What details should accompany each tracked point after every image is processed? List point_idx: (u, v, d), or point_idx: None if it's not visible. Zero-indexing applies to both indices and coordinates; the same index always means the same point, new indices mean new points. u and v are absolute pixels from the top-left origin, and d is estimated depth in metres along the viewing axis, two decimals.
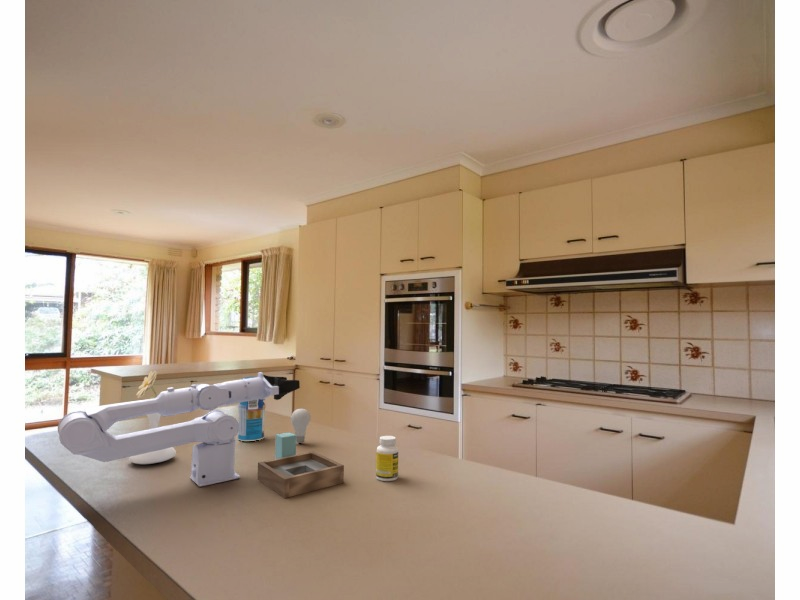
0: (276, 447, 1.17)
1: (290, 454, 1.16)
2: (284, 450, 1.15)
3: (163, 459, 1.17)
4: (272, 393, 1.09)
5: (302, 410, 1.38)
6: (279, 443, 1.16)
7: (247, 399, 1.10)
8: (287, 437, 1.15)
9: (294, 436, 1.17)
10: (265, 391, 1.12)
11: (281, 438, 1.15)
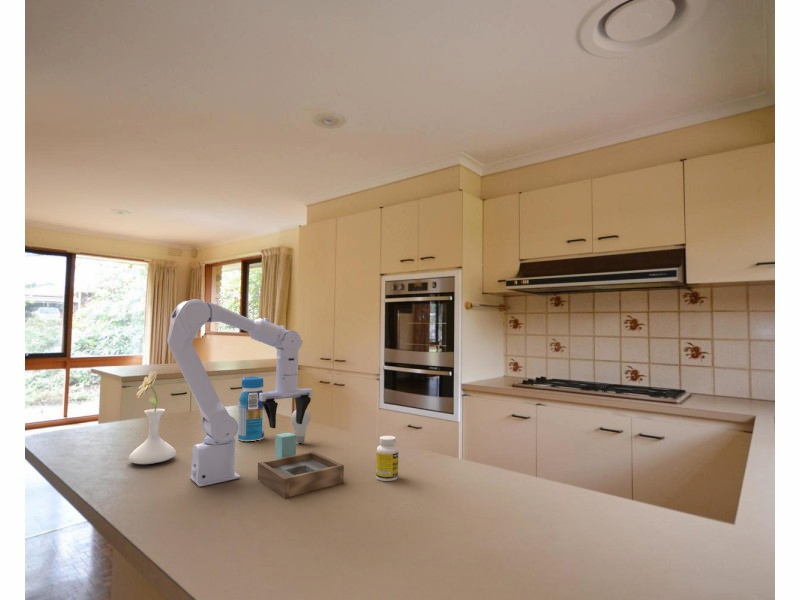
0: (276, 447, 1.17)
1: (290, 454, 1.16)
2: (284, 450, 1.15)
3: (163, 459, 1.17)
4: (259, 394, 1.14)
5: None
6: (279, 443, 1.16)
7: None
8: (287, 437, 1.15)
9: (294, 436, 1.17)
10: (275, 392, 1.17)
11: (281, 438, 1.15)
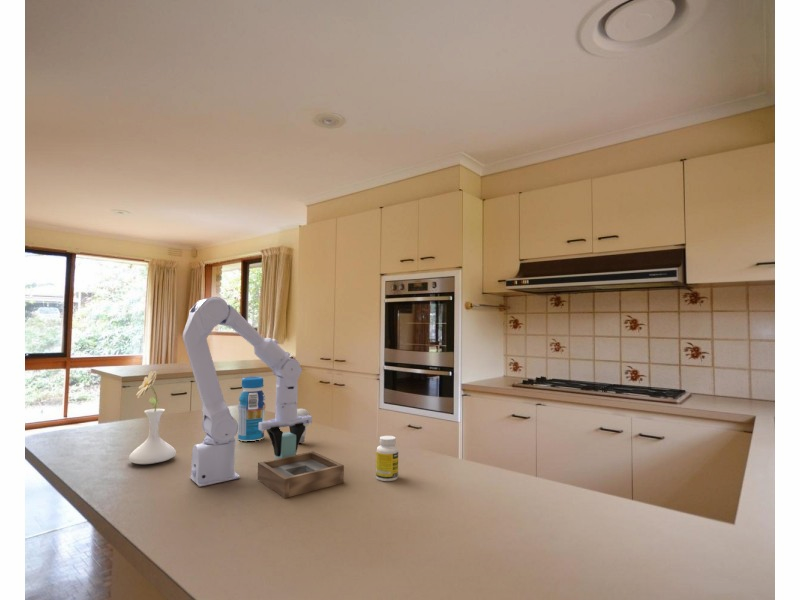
0: None
1: (290, 454, 1.16)
2: (284, 450, 1.15)
3: (163, 459, 1.17)
4: (259, 423, 1.13)
5: (302, 410, 1.38)
6: None
7: None
8: (287, 437, 1.15)
9: (294, 436, 1.17)
10: (274, 421, 1.16)
11: None
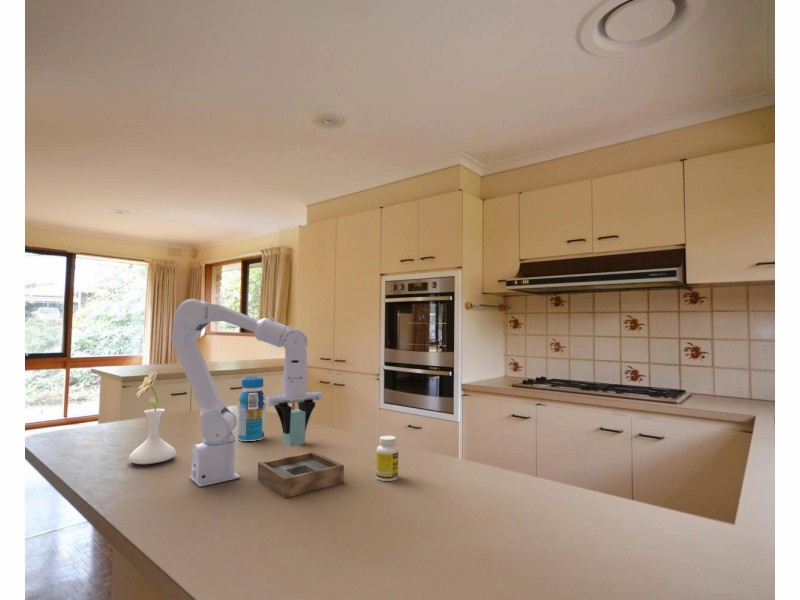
0: None
1: (299, 431, 1.10)
2: (293, 427, 1.09)
3: (163, 459, 1.17)
4: (266, 398, 1.07)
5: None
6: None
7: None
8: (296, 413, 1.09)
9: (303, 413, 1.10)
10: (283, 396, 1.10)
11: None
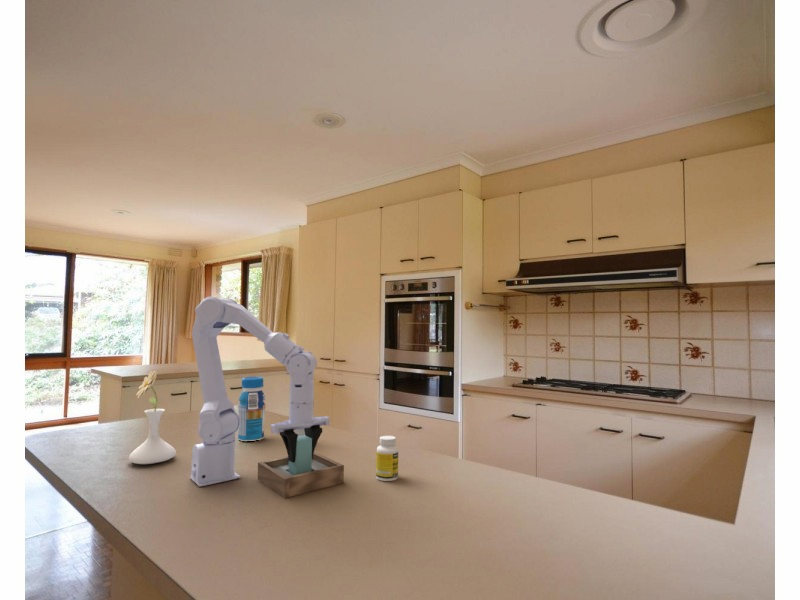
0: None
1: (305, 460, 1.04)
2: (299, 456, 1.03)
3: (163, 459, 1.17)
4: (271, 425, 1.01)
5: None
6: None
7: None
8: (302, 441, 1.04)
9: (310, 439, 1.05)
10: None
11: None
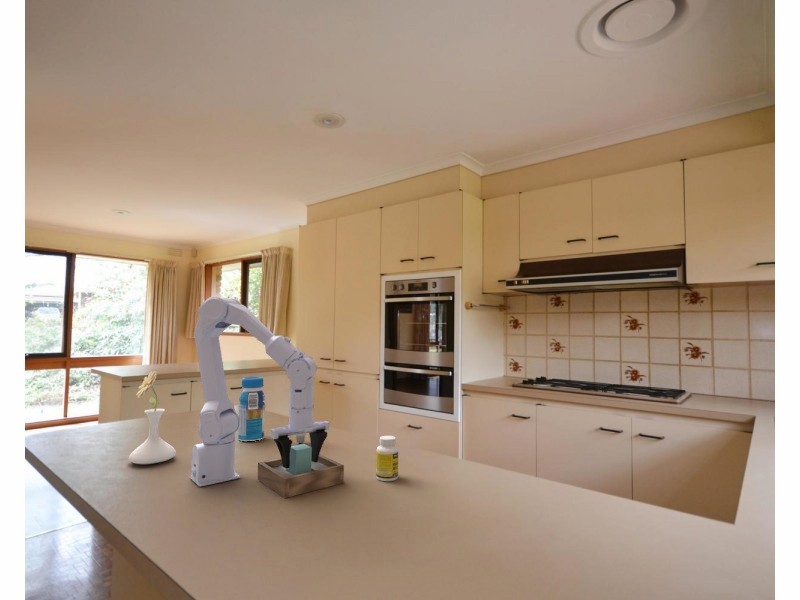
0: None
1: (305, 469, 1.04)
2: (299, 465, 1.03)
3: (163, 459, 1.17)
4: (271, 430, 1.01)
5: None
6: (292, 456, 1.04)
7: None
8: (302, 450, 1.04)
9: (309, 448, 1.05)
10: None
11: (295, 451, 1.03)
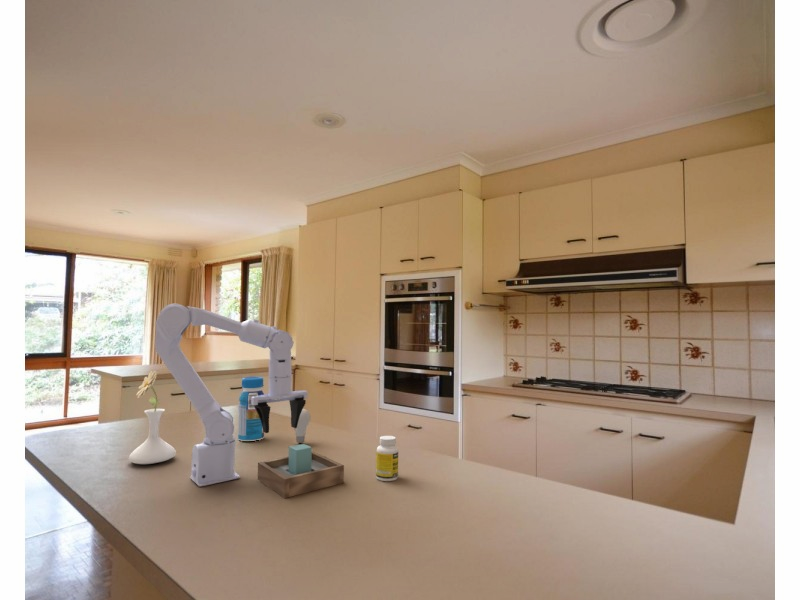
0: (289, 461, 1.05)
1: (305, 469, 1.04)
2: (299, 465, 1.03)
3: (163, 459, 1.17)
4: (251, 397, 1.09)
5: (302, 410, 1.38)
6: (292, 456, 1.04)
7: None
8: (302, 450, 1.04)
9: (309, 448, 1.05)
10: (268, 395, 1.12)
11: (295, 451, 1.03)
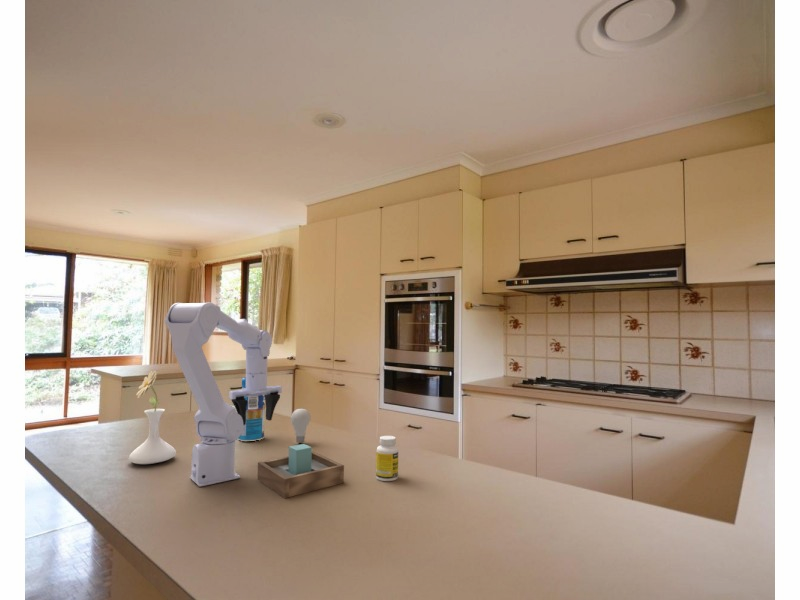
0: (289, 461, 1.05)
1: (305, 469, 1.04)
2: (299, 465, 1.03)
3: (163, 459, 1.17)
4: (229, 392, 1.17)
5: (302, 410, 1.38)
6: (292, 456, 1.04)
7: None
8: (302, 450, 1.04)
9: (309, 448, 1.05)
10: (245, 390, 1.20)
11: (295, 451, 1.03)
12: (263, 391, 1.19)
